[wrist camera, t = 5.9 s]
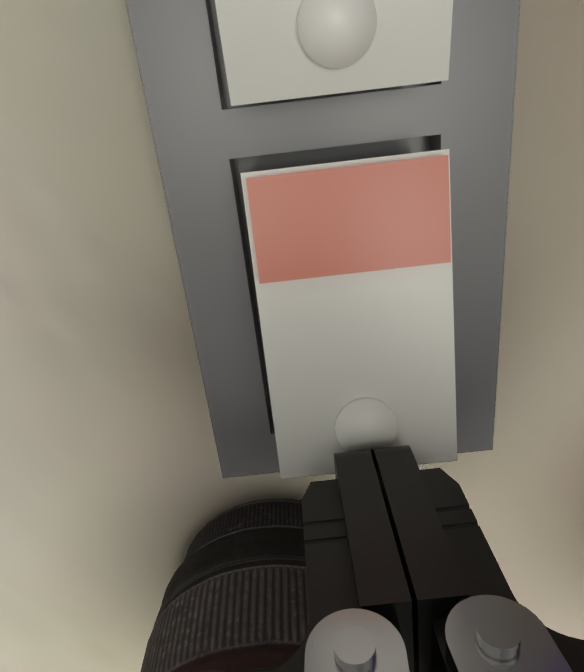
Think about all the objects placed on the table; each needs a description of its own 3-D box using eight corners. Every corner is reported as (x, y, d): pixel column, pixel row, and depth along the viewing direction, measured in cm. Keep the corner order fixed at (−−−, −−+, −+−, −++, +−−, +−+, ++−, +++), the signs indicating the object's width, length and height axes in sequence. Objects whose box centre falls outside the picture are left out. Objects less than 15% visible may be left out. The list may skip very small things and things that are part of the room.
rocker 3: (247, 174, 11) (239, 172, 9) (423, 153, 11) (454, 148, 9) (281, 437, 13) (280, 486, 11) (433, 421, 12) (461, 467, 10)
